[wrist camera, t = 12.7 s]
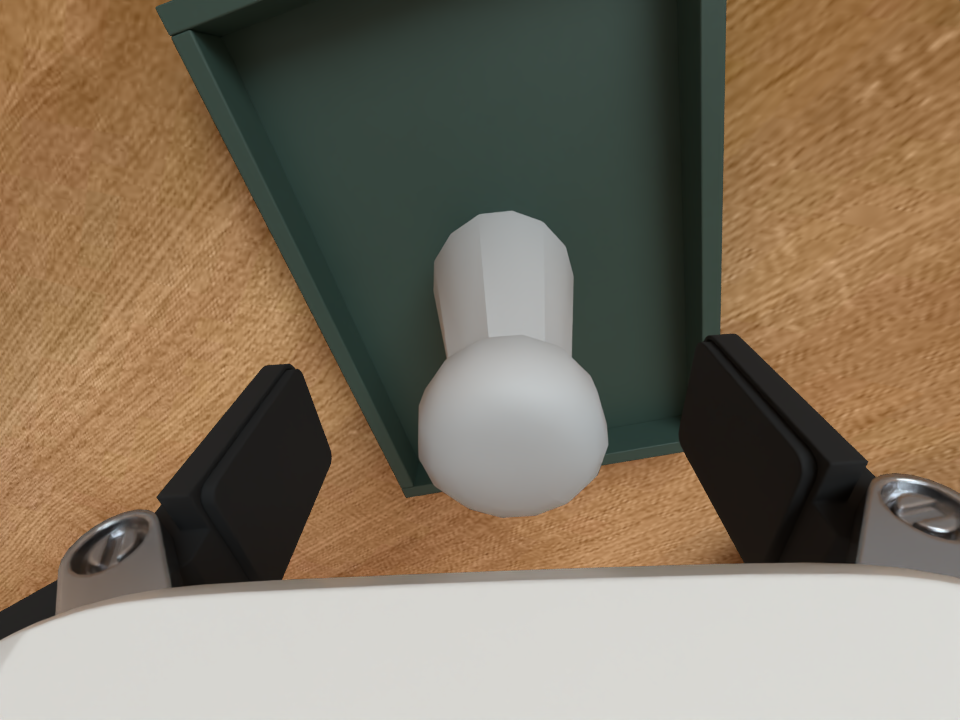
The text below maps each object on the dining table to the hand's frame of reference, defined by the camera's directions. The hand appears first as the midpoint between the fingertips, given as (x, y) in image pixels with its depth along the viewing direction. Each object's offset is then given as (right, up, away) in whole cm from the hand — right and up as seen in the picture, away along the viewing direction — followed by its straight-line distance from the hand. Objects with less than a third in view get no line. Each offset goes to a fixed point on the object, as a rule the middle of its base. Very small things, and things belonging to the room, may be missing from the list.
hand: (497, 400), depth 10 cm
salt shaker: (+1, +6, +10) cm, 11 cm away
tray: (+1, +6, +10) cm, 12 cm away
